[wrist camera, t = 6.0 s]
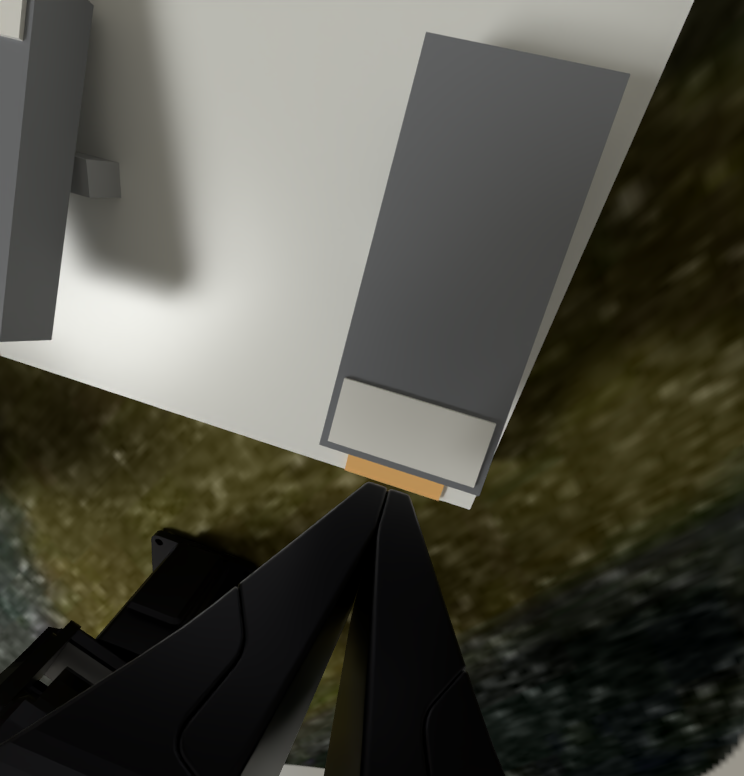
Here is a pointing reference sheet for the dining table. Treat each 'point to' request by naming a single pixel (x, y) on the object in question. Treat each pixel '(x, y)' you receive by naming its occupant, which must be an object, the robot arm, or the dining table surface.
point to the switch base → (276, 192)
